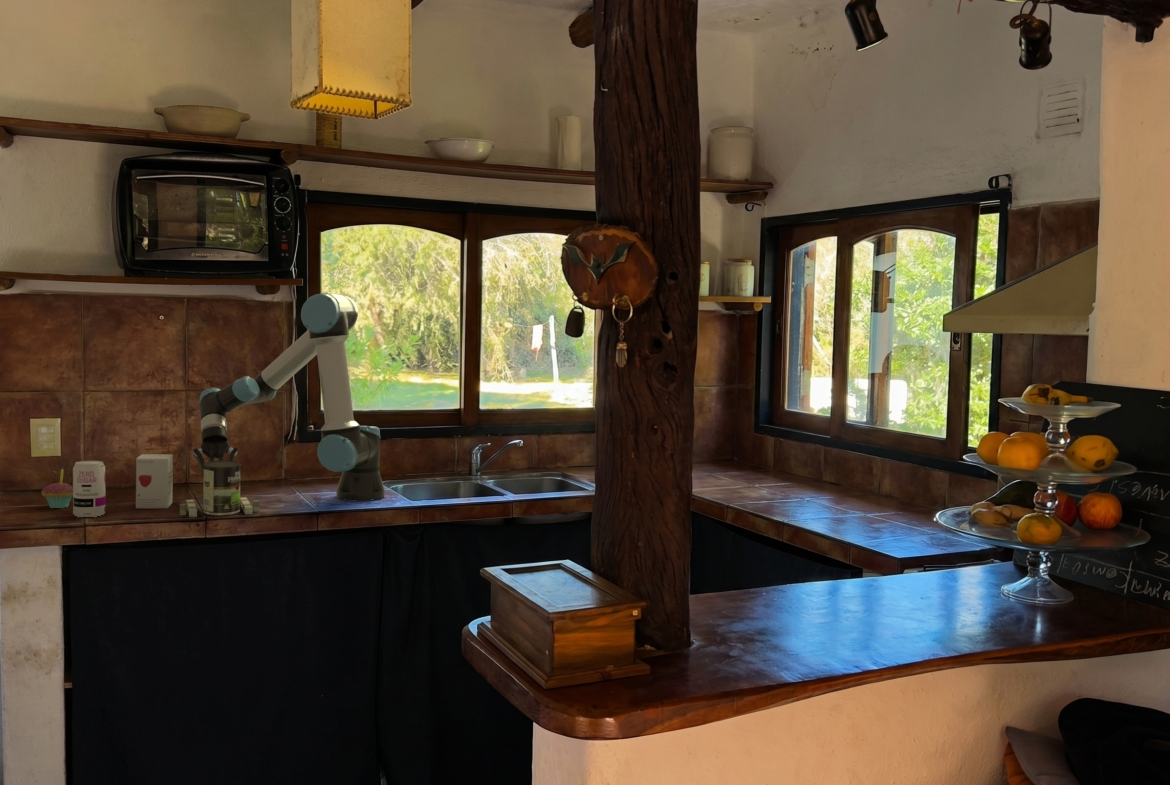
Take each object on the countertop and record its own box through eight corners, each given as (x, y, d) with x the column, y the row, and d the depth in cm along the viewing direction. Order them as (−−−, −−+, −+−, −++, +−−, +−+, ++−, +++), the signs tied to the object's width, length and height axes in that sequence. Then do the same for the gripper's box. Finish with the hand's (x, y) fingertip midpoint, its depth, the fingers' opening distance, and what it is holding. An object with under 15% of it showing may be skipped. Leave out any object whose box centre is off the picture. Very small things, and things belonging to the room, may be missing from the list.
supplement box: (134, 509, 298) (134, 458, 297) (141, 503, 307) (140, 453, 306) (168, 508, 300) (168, 458, 299) (173, 502, 309) (173, 453, 308)
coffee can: (247, 509, 301) (247, 462, 300) (228, 517, 291) (228, 468, 290) (215, 505, 303) (215, 458, 301) (195, 513, 293) (195, 465, 291)
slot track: (178, 506, 303) (178, 496, 303) (254, 503, 312) (254, 493, 311) (180, 517, 288) (180, 507, 288) (260, 513, 297) (260, 503, 297)
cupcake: (81, 506, 299) (81, 465, 298) (55, 511, 292) (55, 469, 291) (60, 503, 303) (60, 463, 302) (35, 507, 295) (34, 466, 294)
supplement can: (99, 511, 293) (99, 459, 292) (109, 516, 287) (109, 463, 286) (69, 514, 287) (68, 461, 286) (78, 519, 281) (78, 465, 280)
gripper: (235, 439, 320) (240, 501, 306) (191, 440, 315) (194, 503, 301) (237, 424, 315) (242, 487, 301) (192, 425, 310) (195, 489, 296)
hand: (218, 495), depth 301 cm, fingers closed
